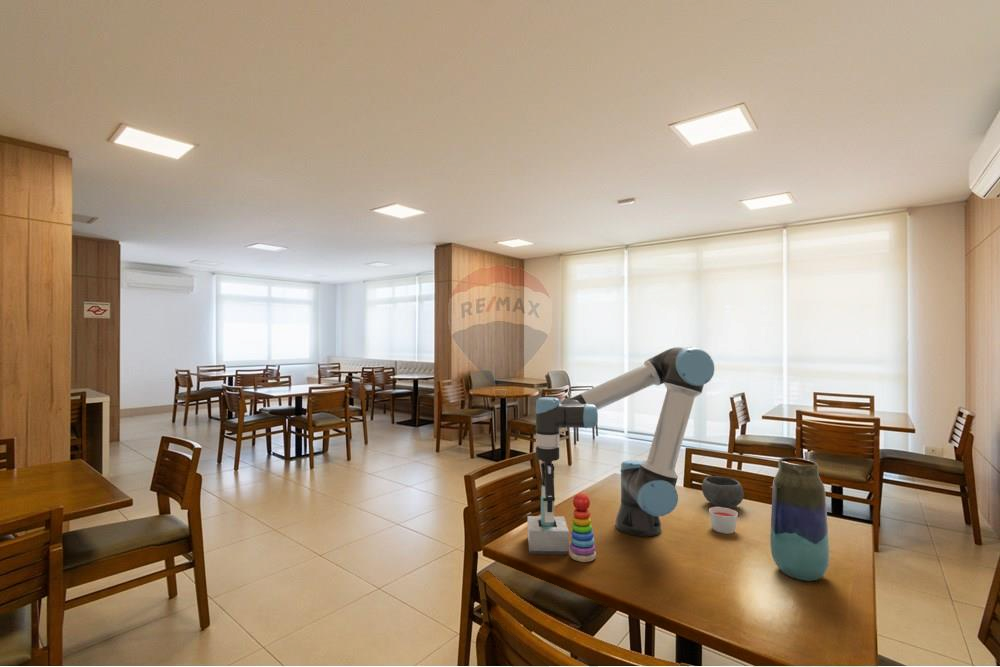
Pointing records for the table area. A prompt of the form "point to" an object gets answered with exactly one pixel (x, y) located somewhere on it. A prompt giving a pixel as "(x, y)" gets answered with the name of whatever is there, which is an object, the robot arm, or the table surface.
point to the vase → (799, 520)
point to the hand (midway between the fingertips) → (547, 513)
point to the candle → (723, 519)
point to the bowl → (722, 491)
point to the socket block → (548, 536)
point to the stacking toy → (582, 531)
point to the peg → (543, 523)
